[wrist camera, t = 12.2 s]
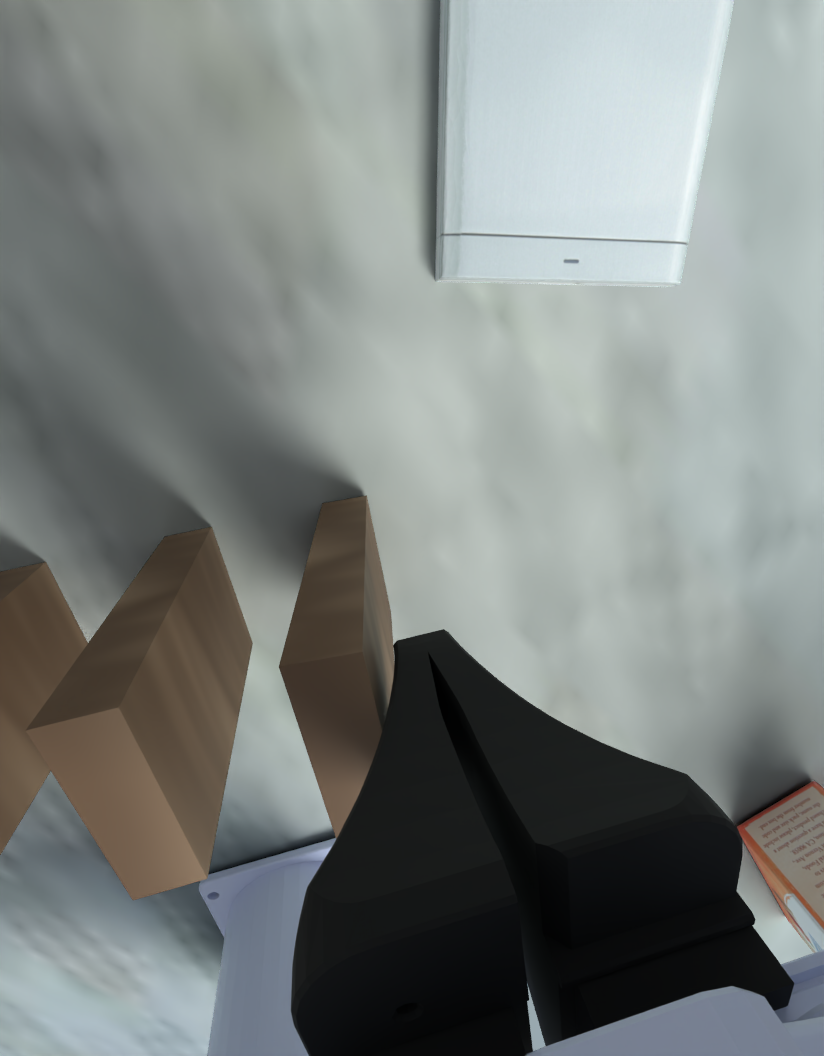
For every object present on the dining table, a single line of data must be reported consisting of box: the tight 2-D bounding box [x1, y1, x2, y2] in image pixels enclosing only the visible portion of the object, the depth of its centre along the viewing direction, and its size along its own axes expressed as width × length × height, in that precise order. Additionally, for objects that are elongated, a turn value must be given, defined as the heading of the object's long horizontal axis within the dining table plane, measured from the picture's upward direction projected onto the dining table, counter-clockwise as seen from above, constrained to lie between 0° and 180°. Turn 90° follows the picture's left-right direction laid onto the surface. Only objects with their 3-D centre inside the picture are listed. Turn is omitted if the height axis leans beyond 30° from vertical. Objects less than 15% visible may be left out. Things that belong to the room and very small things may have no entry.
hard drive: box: [435, 0, 734, 287], centre depth 14 cm, size 2×8×12 cm
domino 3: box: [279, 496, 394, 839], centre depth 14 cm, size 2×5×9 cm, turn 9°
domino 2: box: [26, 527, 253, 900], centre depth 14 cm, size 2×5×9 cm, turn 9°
